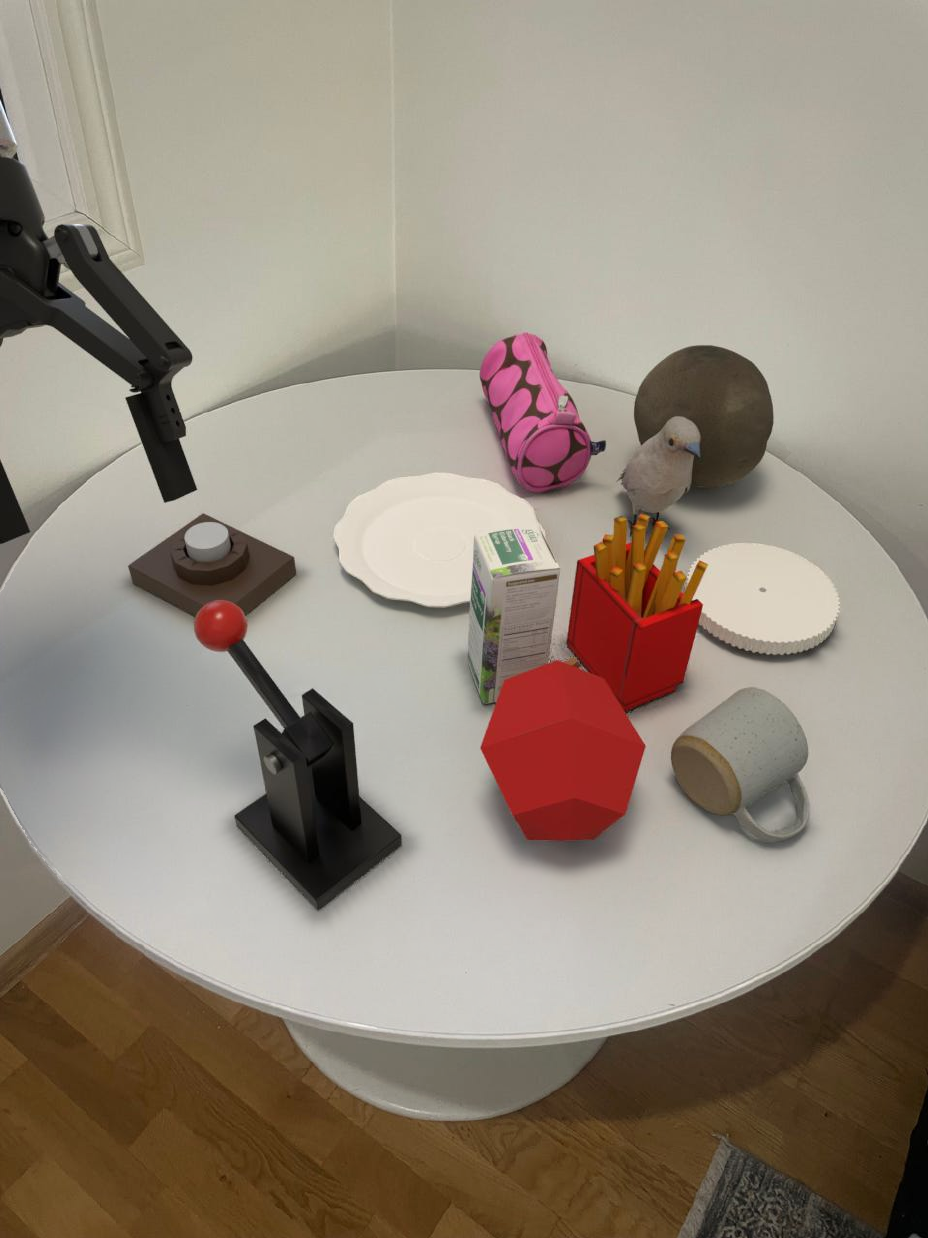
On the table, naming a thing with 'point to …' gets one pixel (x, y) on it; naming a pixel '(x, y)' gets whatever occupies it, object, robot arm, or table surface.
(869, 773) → the table surface
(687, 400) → the brown round ball
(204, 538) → the stop button
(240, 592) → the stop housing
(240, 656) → the power lever
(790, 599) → the plastic lid
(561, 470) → the pencil case
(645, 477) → the bird
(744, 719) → the ceramic mug
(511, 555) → the syrup box
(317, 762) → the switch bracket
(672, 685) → the french fries container
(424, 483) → the plate
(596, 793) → the red faceted polyhedron
